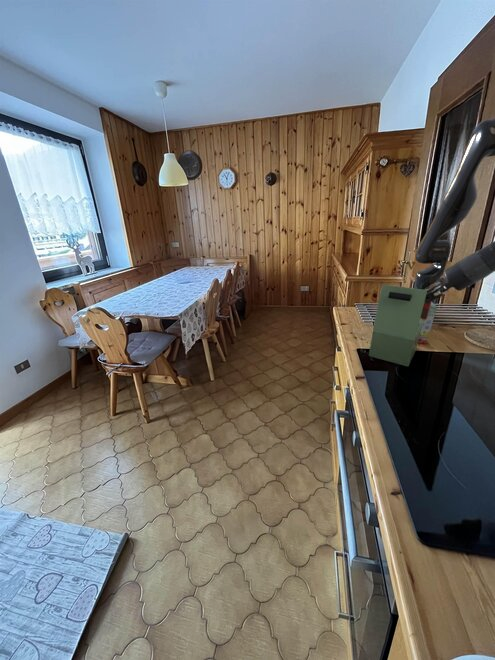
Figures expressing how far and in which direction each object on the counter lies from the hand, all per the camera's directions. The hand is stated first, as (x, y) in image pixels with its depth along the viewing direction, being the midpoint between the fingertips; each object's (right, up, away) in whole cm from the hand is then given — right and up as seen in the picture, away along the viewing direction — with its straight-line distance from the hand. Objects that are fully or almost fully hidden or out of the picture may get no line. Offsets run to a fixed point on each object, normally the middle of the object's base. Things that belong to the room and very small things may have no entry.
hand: (412, 303), depth 93 cm
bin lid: (-6, -3, -3) cm, 7 cm away
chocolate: (+2, -4, +1) cm, 5 cm away
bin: (-2, -17, +9) cm, 19 cm away
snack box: (+13, -9, +22) cm, 27 cm away
